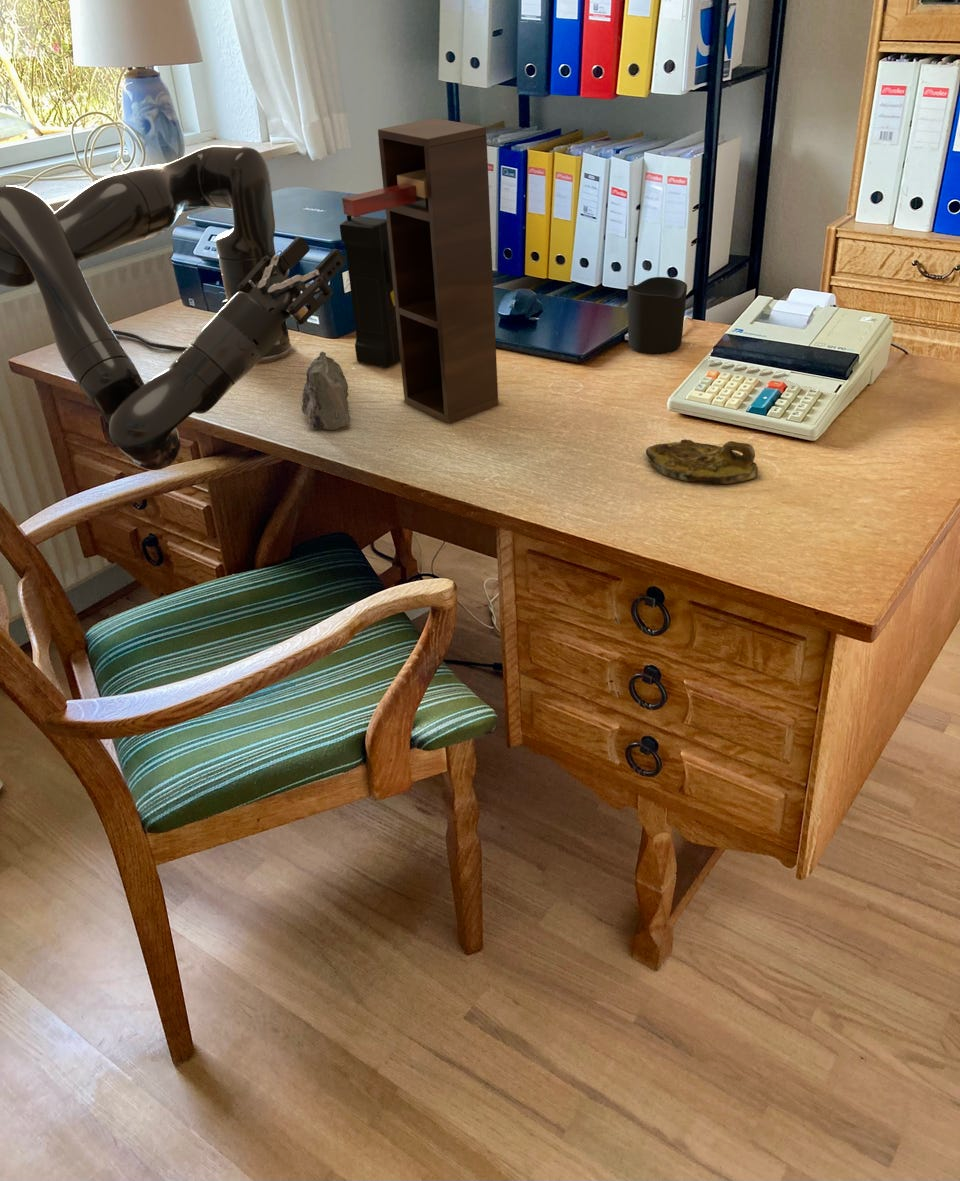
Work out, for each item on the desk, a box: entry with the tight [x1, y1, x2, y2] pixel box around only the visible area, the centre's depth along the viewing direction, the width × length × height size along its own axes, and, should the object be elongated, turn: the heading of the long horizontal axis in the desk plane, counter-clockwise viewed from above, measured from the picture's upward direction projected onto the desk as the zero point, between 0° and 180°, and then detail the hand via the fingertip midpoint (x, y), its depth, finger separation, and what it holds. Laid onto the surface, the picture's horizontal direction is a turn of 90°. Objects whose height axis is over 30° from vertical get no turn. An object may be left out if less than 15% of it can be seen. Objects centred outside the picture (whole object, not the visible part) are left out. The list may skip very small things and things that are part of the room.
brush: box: [341, 169, 429, 218], centre depth 135 cm, size 6×18×4 cm, turn 130°
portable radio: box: [339, 215, 401, 368], centre depth 164 cm, size 8×6×25 cm
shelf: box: [377, 117, 499, 425], centre depth 144 cm, size 11×10×39 cm
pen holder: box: [627, 276, 688, 355], centre depth 167 cm, size 9×9×10 cm
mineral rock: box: [301, 351, 351, 431], centre depth 152 cm, size 13×11×10 cm
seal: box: [645, 438, 758, 485], centre depth 133 cm, size 9×5×15 cm
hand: (322, 248), depth 130 cm, fingers open, 8 cm apart
